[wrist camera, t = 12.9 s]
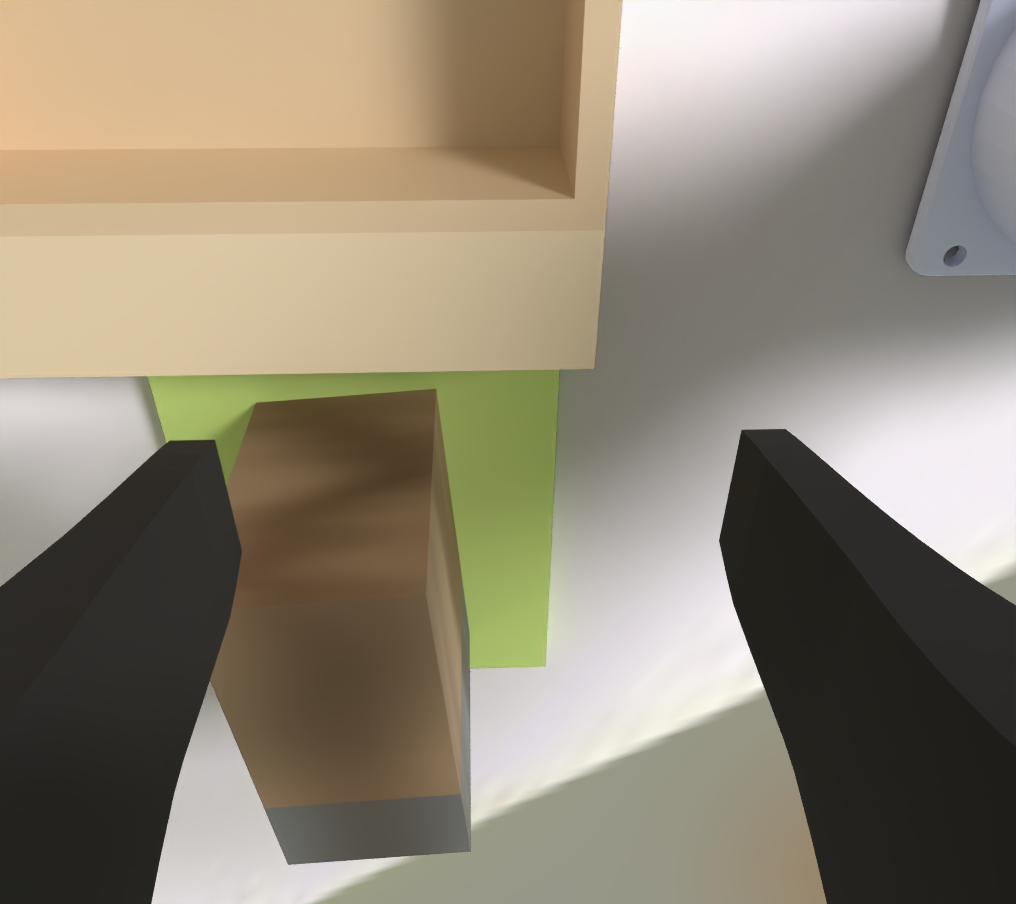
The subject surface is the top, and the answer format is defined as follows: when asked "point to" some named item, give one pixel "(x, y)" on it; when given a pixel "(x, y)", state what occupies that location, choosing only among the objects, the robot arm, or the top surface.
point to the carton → (303, 185)
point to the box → (350, 629)
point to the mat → (471, 471)
